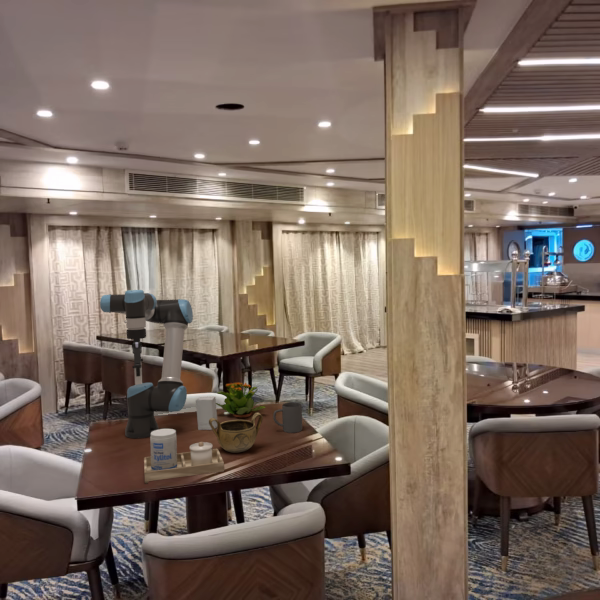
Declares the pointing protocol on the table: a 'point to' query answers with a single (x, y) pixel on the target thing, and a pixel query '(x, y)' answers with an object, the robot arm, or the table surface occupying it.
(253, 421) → the ceramic bowl
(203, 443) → the sugar pot
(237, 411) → the potted flower
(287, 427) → the mug
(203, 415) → the skincare box
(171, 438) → the supplement tub
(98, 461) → the table surface
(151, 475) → the caddy
